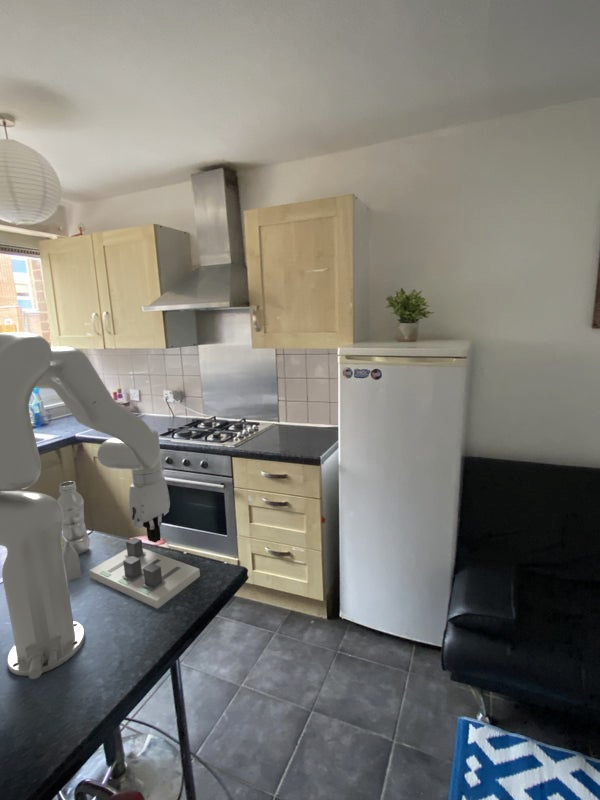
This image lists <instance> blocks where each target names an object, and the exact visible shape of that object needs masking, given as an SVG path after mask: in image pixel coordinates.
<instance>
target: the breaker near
mask: <svg viewBox="0 0 600 800" xmlns="http://www.w3.org/2000/svg"><path fill="white" fill-rule="evenodd" d="M143 572H144V580H145V583H144V584H143V585H142V586H144V587H146V588H148V589H151V590H154V589H156V588H157V587H158V586H160V585H161V584H163V583H164V582H165V580H162V574H161V567H160V566H157V565H155V564H150V565H148V566H147V567H145V568H144V569H143Z"/></svg>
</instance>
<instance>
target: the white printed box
mask: <svg viewBox="0 0 600 800" xmlns="http://www.w3.org/2000/svg"><path fill="white" fill-rule="evenodd" d="M62 551H63V558H64V565H65V571H66V577H67V583H68V582H71V581H73V580H75V579H78V578H81V577H82V572H81V563H80V557H79V556H80V555H78V553H77V552H76V551H75V549H74V548H73V546H72V545H71V544H70V542H69V541H68V540H67V539H66V538H65V537H64V535H63V533H62Z"/></svg>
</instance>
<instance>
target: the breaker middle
mask: <svg viewBox="0 0 600 800" xmlns="http://www.w3.org/2000/svg"><path fill="white" fill-rule="evenodd" d="M123 563H124V571H125V575H123V576H122V577H123V578H125V579H128V580H130V581H134V580H135V579H137V578H138V577H140V576H141V575H143V574H144V572H143V571H142V570H141V562H140V559H139V558H137V557H134V556H130V557H129V558H127V559H125V560H124V561H123Z"/></svg>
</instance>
